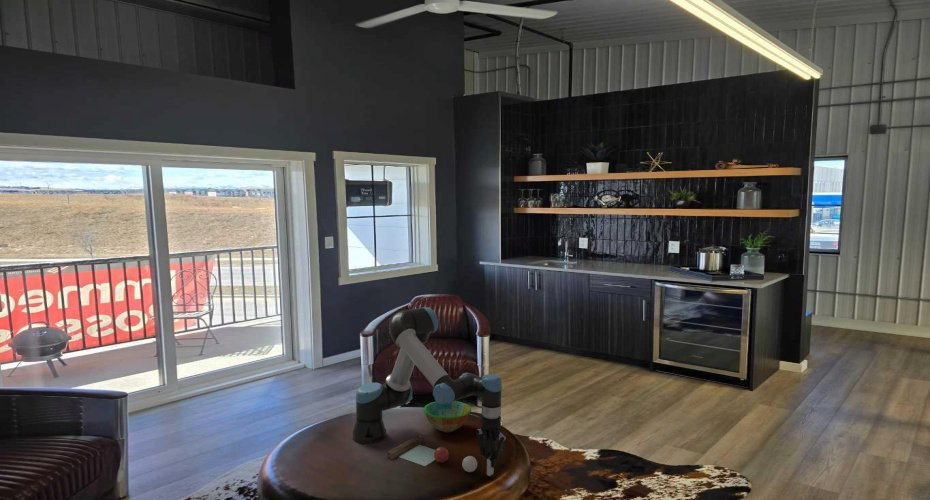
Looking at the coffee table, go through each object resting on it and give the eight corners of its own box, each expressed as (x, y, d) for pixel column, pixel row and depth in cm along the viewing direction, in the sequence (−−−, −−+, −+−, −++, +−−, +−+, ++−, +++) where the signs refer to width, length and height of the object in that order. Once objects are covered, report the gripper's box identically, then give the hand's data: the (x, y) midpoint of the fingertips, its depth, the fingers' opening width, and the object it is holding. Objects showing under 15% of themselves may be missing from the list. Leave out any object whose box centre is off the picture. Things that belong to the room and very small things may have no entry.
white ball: (459, 472, 224) (459, 457, 223) (467, 466, 229) (467, 452, 228) (471, 476, 221) (472, 461, 220) (480, 470, 226) (480, 456, 225)
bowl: (459, 417, 280) (459, 397, 279) (478, 434, 259) (479, 413, 258) (416, 423, 271) (416, 403, 270) (433, 442, 250) (433, 420, 249)
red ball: (431, 462, 232) (431, 448, 231) (439, 457, 237) (439, 443, 236) (442, 466, 228) (443, 452, 228) (451, 460, 233) (451, 447, 233)
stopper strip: (387, 457, 235) (387, 451, 235) (417, 440, 252) (417, 435, 252) (391, 459, 234) (391, 453, 234) (421, 442, 251) (421, 436, 250)
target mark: (398, 457, 236) (398, 456, 236) (419, 445, 248) (419, 444, 248) (425, 466, 228) (425, 465, 228) (445, 453, 240) (445, 453, 240)
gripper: (471, 414, 218) (470, 473, 220) (500, 422, 210) (499, 483, 213) (481, 408, 224) (481, 465, 226) (510, 416, 217) (509, 475, 219)
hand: (490, 474), depth 219 cm, fingers closed
